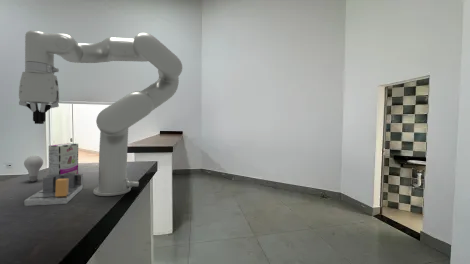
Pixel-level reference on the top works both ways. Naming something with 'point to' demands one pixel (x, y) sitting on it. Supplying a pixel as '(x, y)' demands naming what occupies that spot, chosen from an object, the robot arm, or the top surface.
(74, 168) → the candy bar box
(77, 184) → the console
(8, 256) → the top surface
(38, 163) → the lightbulb
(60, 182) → the cap
